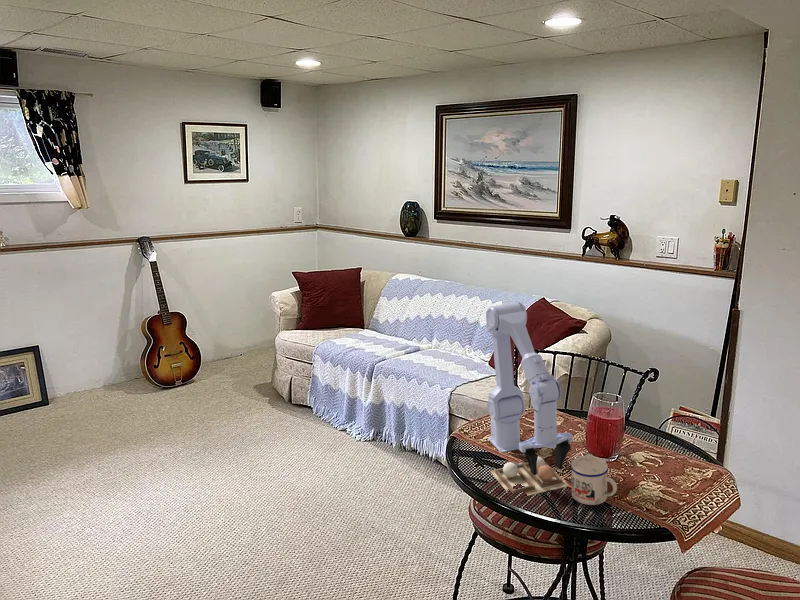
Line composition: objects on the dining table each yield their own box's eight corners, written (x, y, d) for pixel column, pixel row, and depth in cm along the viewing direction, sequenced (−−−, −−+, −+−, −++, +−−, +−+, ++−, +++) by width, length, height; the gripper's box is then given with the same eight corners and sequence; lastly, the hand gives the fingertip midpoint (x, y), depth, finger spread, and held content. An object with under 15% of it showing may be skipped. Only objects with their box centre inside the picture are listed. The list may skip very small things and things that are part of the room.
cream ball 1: (500, 474, 181) (500, 461, 180) (514, 471, 182) (513, 458, 181) (507, 481, 178) (506, 468, 177) (520, 478, 179) (520, 465, 178)
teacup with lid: (563, 497, 169) (563, 456, 166) (583, 482, 175) (583, 442, 172) (606, 515, 161) (606, 472, 158) (625, 499, 167) (626, 457, 164)
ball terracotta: (536, 478, 179) (534, 465, 178) (549, 473, 180) (547, 460, 178) (543, 485, 175) (541, 472, 174) (557, 480, 176) (554, 467, 175)
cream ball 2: (527, 468, 183) (527, 455, 182) (540, 465, 184) (540, 452, 183) (534, 475, 180) (534, 462, 179) (547, 472, 181) (547, 459, 180)
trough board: (489, 472, 184) (489, 467, 183) (542, 460, 188) (542, 455, 187) (513, 500, 170) (513, 495, 169) (569, 487, 174) (569, 482, 173)
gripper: (526, 435, 167) (528, 483, 171) (578, 424, 171) (578, 471, 175) (514, 424, 174) (516, 470, 178) (564, 413, 178) (564, 459, 181)
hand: (546, 470), depth 177 cm, fingers open, 7 cm apart
